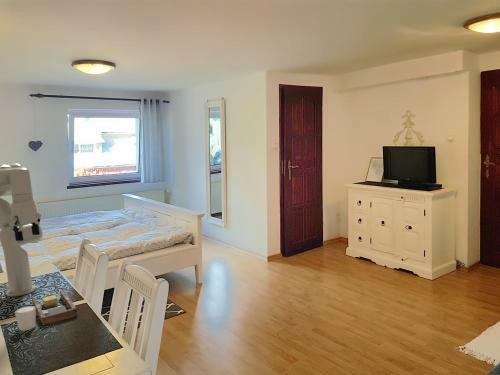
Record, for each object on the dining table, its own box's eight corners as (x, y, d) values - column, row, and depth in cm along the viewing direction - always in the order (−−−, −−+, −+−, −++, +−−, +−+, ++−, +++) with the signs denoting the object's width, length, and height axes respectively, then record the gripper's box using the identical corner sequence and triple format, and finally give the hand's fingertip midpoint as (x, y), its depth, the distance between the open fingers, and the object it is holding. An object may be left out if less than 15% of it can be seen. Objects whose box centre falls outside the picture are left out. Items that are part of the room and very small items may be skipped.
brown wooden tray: (32, 304, 175) (31, 297, 174) (63, 296, 182) (62, 289, 181) (42, 325, 154) (41, 317, 153) (77, 315, 161) (76, 308, 160)
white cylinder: (28, 331, 149) (26, 313, 148) (12, 331, 151) (10, 313, 150) (41, 323, 156) (39, 306, 155) (26, 322, 157) (24, 305, 156)
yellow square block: (43, 304, 175) (42, 297, 174) (55, 301, 178) (55, 294, 177) (45, 308, 171) (44, 301, 170) (57, 304, 174) (57, 298, 173)
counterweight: (48, 317, 162) (47, 310, 161) (64, 312, 165) (63, 305, 165) (51, 322, 157) (50, 315, 156) (68, 317, 160) (67, 310, 160)
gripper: (29, 195, 178) (34, 232, 180) (-2, 201, 161) (4, 243, 164) (44, 194, 177) (49, 232, 179) (14, 201, 160) (20, 243, 162)
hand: (28, 237), depth 171 cm, fingers open, 9 cm apart
